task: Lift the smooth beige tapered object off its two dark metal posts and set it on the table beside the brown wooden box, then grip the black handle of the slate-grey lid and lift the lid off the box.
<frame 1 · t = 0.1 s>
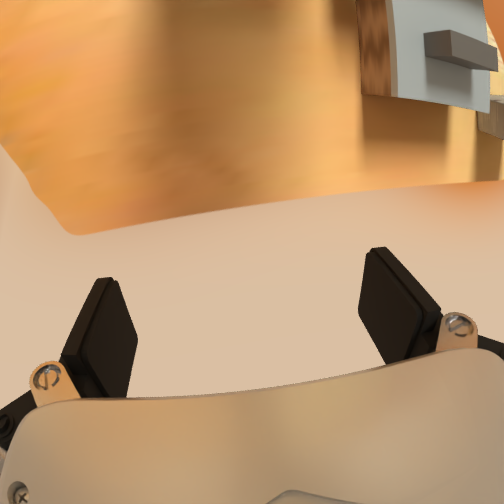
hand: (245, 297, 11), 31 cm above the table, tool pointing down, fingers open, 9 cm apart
brown wooden box: (405, 17, 31), on the table
skincare box: (488, 113, 38), on the table
lid: (437, 10, 24), point 8 cm above the table, touching brown wooden box
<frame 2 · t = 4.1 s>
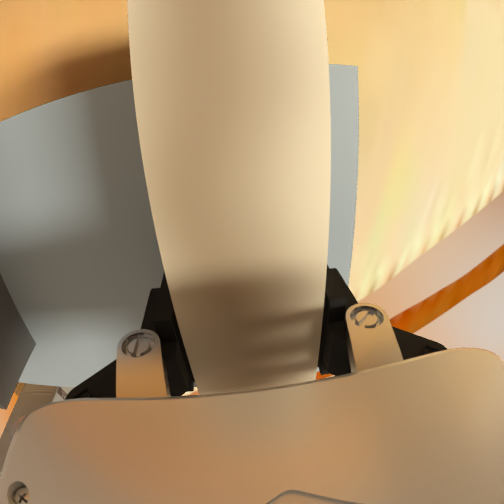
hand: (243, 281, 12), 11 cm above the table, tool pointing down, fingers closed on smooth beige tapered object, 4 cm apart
smooth beige tapered object: (242, 277, 12), point 11 cm above the table, touching gripper, brown wooden box
skincare box: (70, 379, 30), on the table
lid: (81, 265, 14), point 8 cm above the table, touching brown wooden box
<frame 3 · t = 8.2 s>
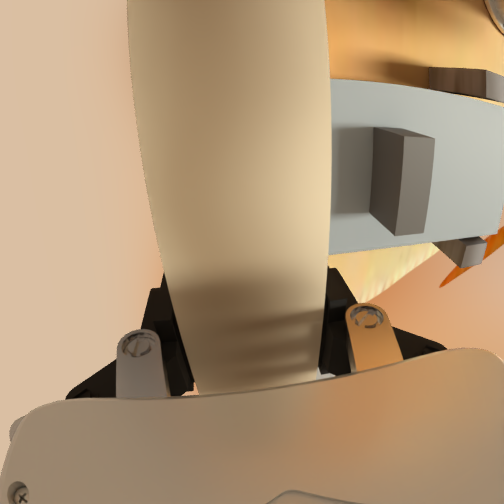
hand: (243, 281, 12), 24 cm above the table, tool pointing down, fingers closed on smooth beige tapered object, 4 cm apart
smooth beige tapered object: (243, 279, 12), point 24 cm above the table, touching gripper
brown wooden box: (390, 150, 34), on the table
lid: (427, 166, 27), point 8 cm above the table, touching brown wooden box
when the fingers open (2 cm above the table, at t = 12.3 s): smooth beige tapered object drops 2 cm, on the table.
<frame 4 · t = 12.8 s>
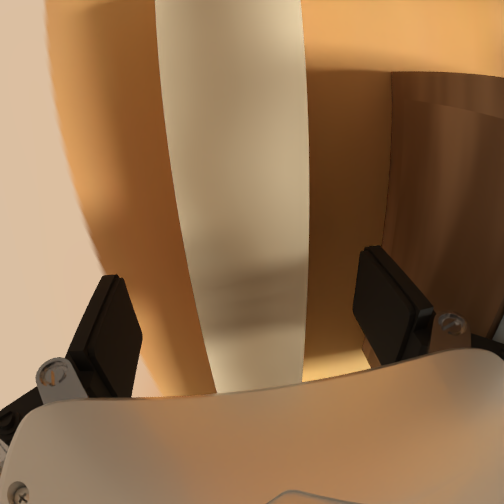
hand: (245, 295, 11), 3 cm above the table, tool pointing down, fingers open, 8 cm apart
smooth beige tapered object: (243, 248, 15), on the table
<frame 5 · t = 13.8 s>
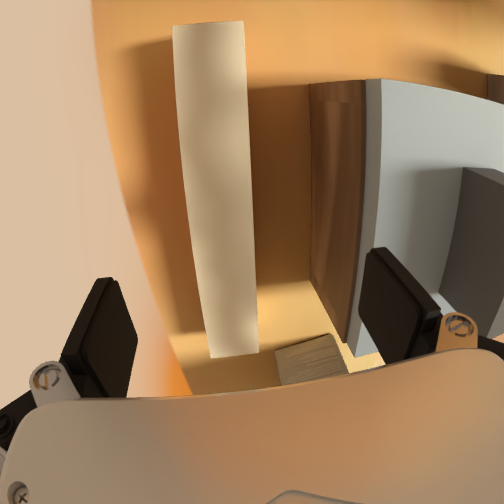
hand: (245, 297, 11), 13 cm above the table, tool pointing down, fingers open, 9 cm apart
smooth beige tapered object: (218, 198, 23), on the table
brown wooden box: (442, 184, 24), on the table
skincare box: (304, 363, 32), on the table
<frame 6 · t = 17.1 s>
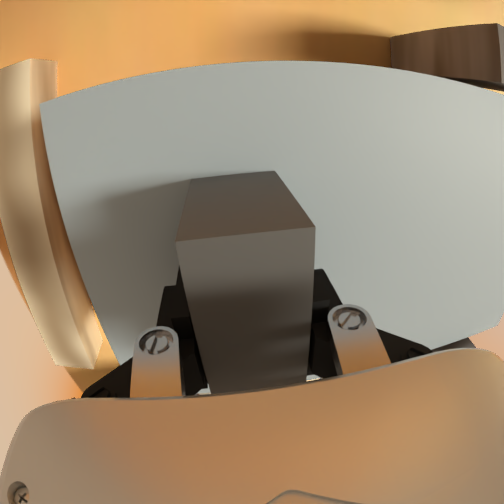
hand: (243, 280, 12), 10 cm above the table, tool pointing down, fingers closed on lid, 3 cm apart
smooth beige tapered object: (51, 221, 21), on the table
brown wooden box: (315, 189, 22), on the table
lid: (363, 239, 15), point 8 cm above the table, touching gripper, brown wooden box
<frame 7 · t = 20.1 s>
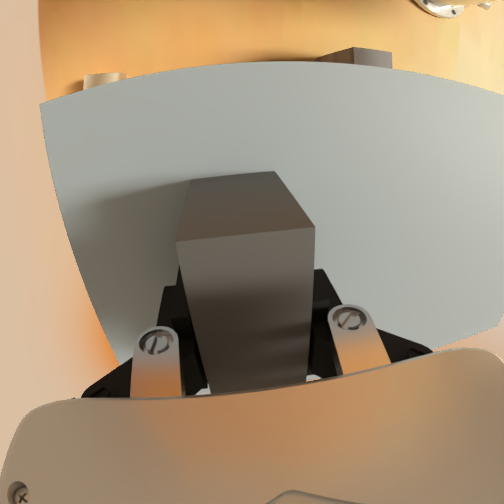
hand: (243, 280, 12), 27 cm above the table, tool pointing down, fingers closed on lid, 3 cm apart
smooth beige tapered object: (109, 170, 35), on the table
brown wooden box: (272, 150, 36), on the table
lid: (363, 239, 15), point 25 cm above the table, touching gripper
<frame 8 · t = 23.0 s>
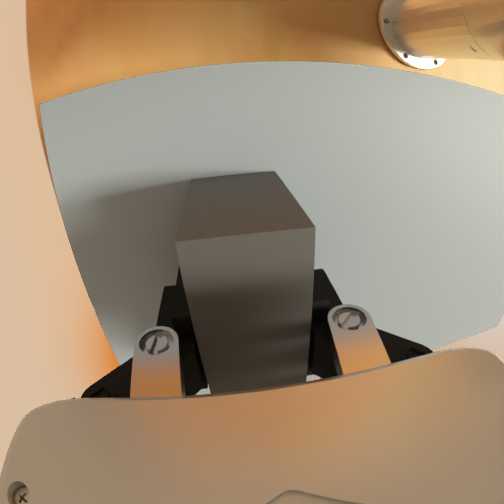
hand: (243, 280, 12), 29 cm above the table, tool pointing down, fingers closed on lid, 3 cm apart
lid: (363, 239, 15), point 27 cm above the table, touching gripper
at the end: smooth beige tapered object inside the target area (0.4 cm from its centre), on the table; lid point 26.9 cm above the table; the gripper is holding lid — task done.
